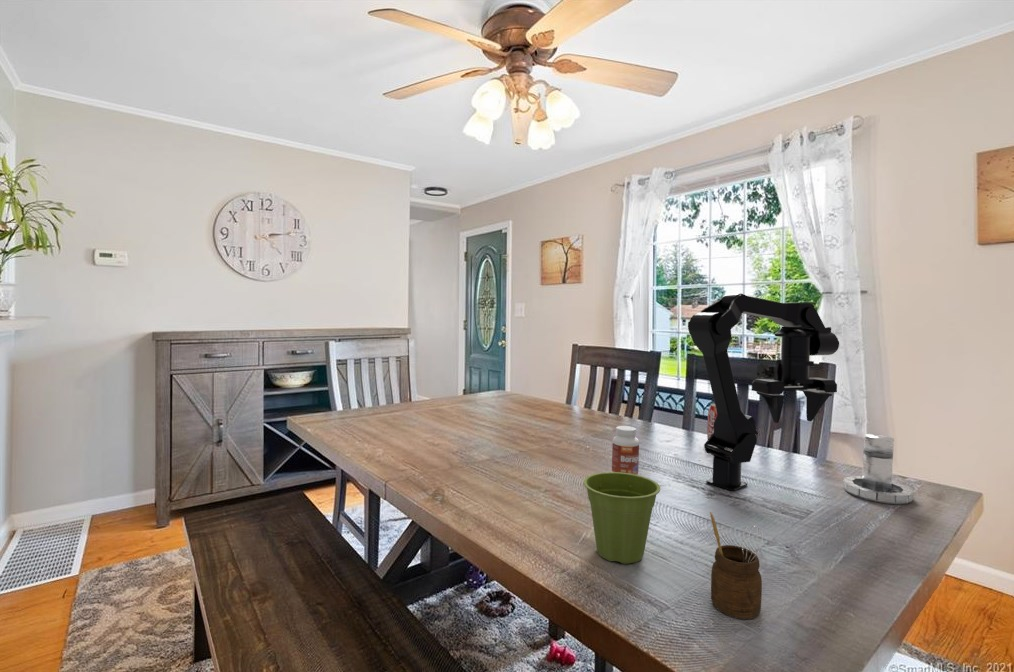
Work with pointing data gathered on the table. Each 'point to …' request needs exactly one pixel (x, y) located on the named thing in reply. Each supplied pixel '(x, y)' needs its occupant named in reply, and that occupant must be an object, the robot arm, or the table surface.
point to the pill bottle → (625, 451)
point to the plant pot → (621, 513)
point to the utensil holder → (736, 579)
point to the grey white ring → (878, 492)
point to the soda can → (711, 420)
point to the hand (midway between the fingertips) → (792, 421)
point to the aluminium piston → (877, 462)
